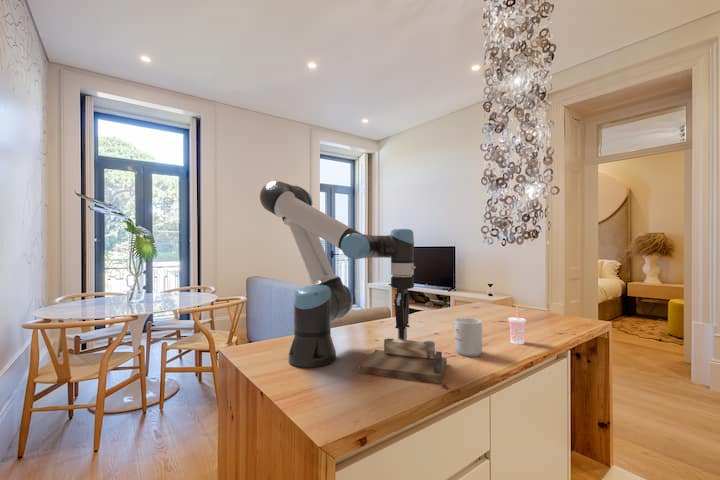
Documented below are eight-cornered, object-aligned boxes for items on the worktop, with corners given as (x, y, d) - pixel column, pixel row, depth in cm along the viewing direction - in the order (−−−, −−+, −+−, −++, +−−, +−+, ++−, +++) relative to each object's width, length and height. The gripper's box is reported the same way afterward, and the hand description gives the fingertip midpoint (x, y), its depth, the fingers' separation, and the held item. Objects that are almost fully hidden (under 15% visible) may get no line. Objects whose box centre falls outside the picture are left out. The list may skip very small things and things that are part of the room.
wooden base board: (359, 372, 96) (359, 351, 96) (375, 355, 111) (375, 337, 111) (440, 383, 88) (440, 360, 88) (446, 364, 103) (446, 344, 103)
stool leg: (435, 355, 104) (435, 341, 104) (433, 358, 101) (433, 344, 101) (385, 350, 109) (385, 336, 109) (382, 353, 106) (382, 339, 106)
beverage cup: (518, 339, 130) (517, 304, 131) (530, 344, 124) (529, 306, 125) (505, 340, 129) (504, 304, 129) (516, 345, 123) (516, 307, 123)
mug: (488, 355, 111) (487, 322, 111) (466, 358, 108) (465, 324, 108) (465, 345, 122) (465, 315, 123) (444, 348, 119) (444, 317, 119)
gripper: (409, 277, 102) (409, 355, 101) (417, 274, 114) (417, 343, 113) (386, 277, 104) (386, 352, 104) (396, 274, 116) (396, 341, 116)
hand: (402, 347), depth 108 cm, fingers closed
